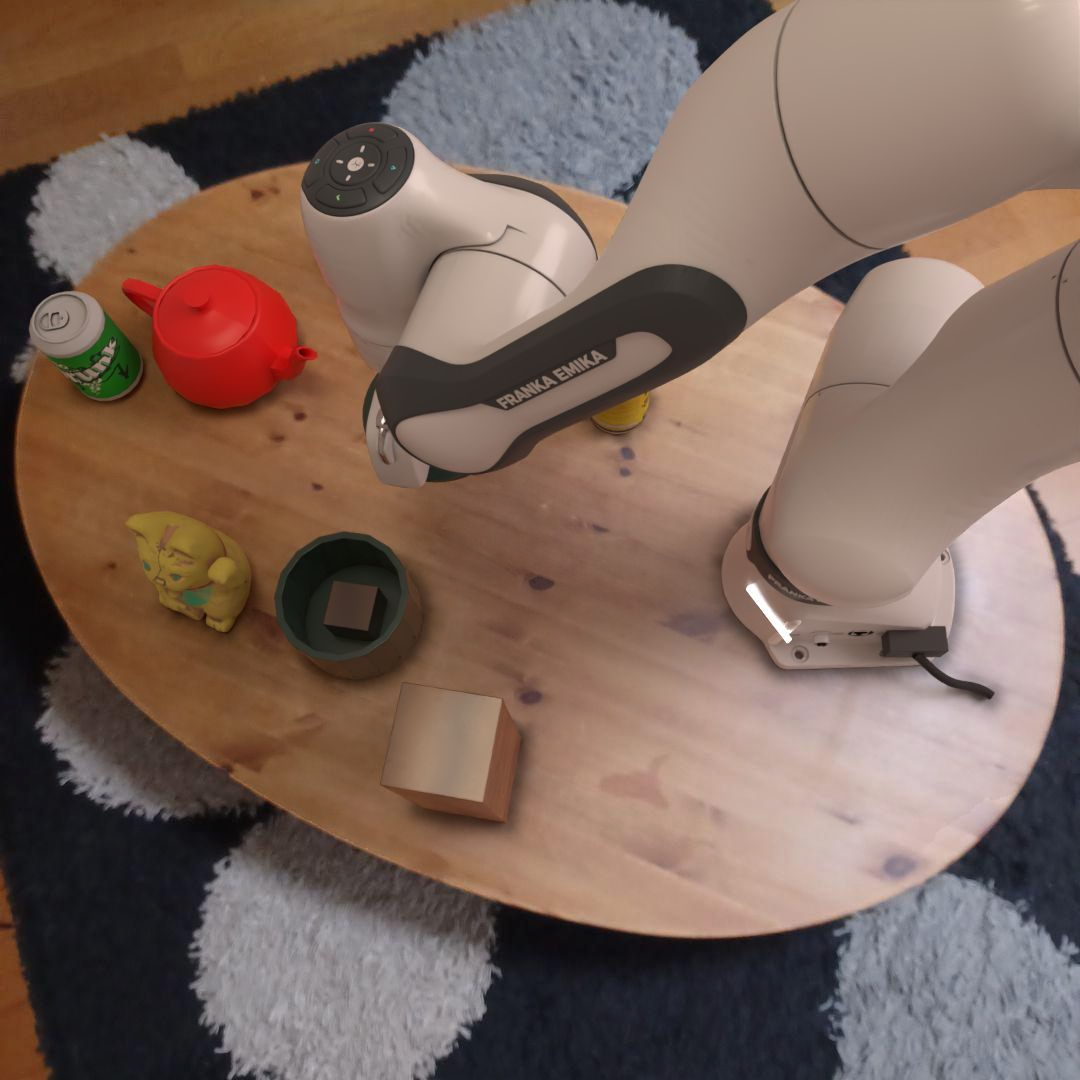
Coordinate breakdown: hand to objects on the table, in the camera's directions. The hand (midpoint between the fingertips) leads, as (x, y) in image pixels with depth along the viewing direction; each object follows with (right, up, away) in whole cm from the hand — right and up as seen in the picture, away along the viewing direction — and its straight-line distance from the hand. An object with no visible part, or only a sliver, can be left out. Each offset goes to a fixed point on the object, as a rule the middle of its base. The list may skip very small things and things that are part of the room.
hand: (438, 404), depth 86 cm
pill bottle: (+17, +2, +22) cm, 28 cm away
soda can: (-39, +7, +27) cm, 48 cm away
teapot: (-24, +8, +26) cm, 37 cm away
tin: (-9, -19, +15) cm, 27 cm away
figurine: (-24, -16, +18) cm, 34 cm away
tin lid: (0, 0, +1) cm, 1 cm away
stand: (+2, -34, +10) cm, 35 cm away
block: (-9, -19, +15) cm, 26 cm away
